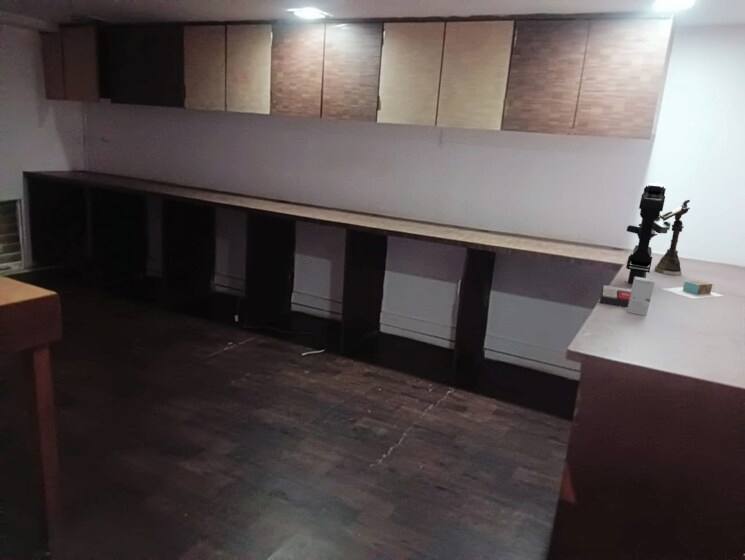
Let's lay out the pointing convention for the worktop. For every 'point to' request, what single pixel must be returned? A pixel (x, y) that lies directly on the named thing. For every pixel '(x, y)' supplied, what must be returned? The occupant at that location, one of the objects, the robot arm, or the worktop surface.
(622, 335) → the worktop surface
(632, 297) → the skincare box
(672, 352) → the worktop surface
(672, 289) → the white mat
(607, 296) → the white black red box
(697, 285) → the wooden block
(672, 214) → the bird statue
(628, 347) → the worktop surface
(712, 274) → the worktop surface
